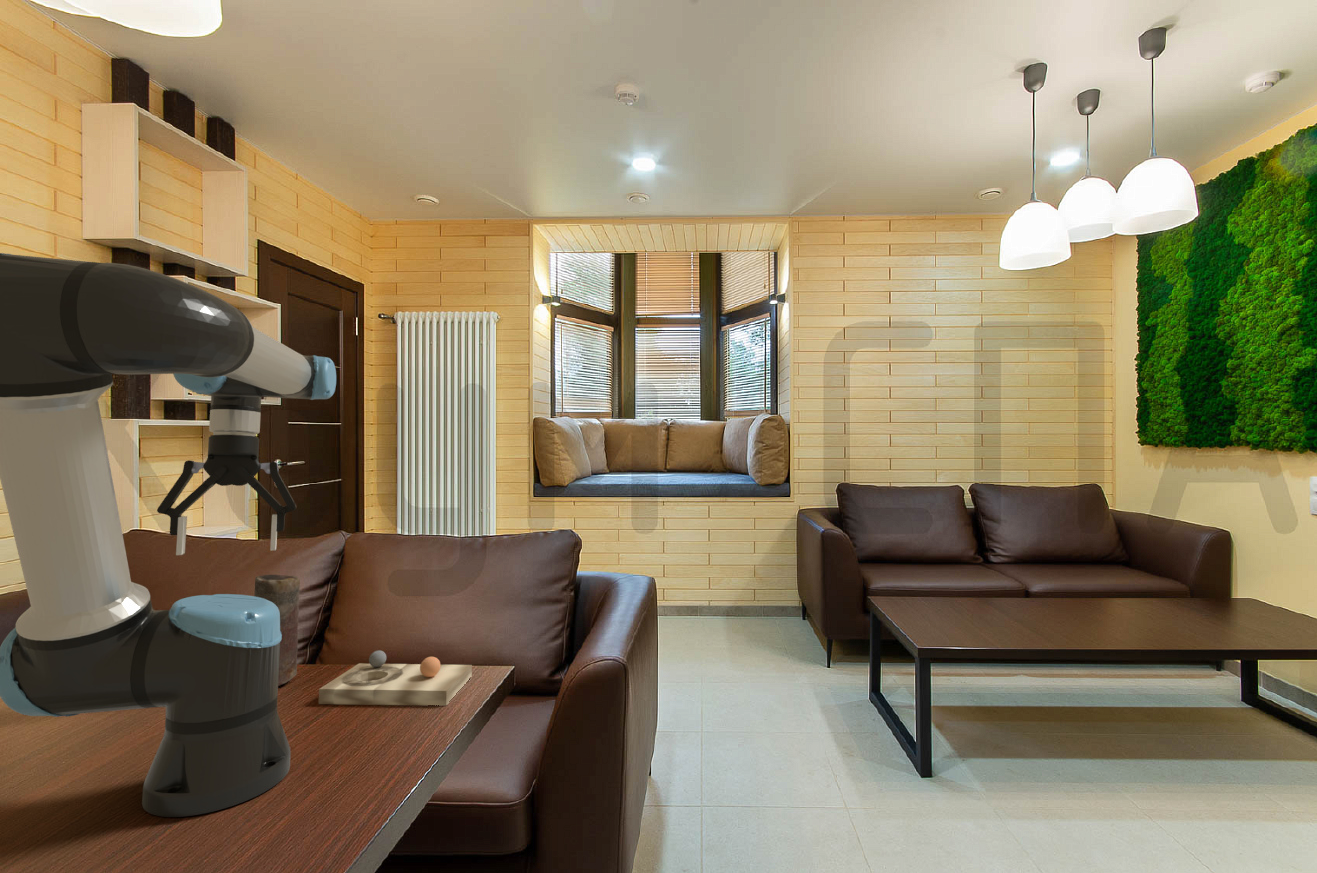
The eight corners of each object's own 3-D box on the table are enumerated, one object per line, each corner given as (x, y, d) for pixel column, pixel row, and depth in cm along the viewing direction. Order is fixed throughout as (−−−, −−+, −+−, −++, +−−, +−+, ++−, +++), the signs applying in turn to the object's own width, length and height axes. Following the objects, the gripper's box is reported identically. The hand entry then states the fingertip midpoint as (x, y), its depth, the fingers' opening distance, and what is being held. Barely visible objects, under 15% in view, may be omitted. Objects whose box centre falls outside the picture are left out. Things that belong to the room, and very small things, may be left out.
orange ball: (443, 677, 106) (443, 657, 106) (423, 681, 104) (424, 661, 104) (436, 671, 109) (436, 652, 109) (417, 676, 106) (417, 656, 106)
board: (471, 678, 112) (471, 665, 112) (446, 705, 99) (446, 690, 100) (358, 676, 113) (359, 663, 113) (318, 704, 100) (319, 689, 100)
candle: (264, 677, 112) (268, 572, 113) (304, 675, 113) (308, 571, 114) (240, 692, 104) (245, 579, 106) (283, 691, 105) (288, 579, 106)
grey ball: (388, 667, 111) (388, 651, 111) (371, 670, 109) (371, 654, 109) (383, 663, 113) (384, 647, 113) (366, 666, 111) (367, 650, 111)
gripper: (314, 438, 116) (309, 545, 115) (152, 433, 104) (144, 553, 102) (313, 436, 109) (308, 550, 108) (140, 430, 97) (131, 559, 96)
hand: (228, 552), depth 105 cm, fingers open, 13 cm apart
